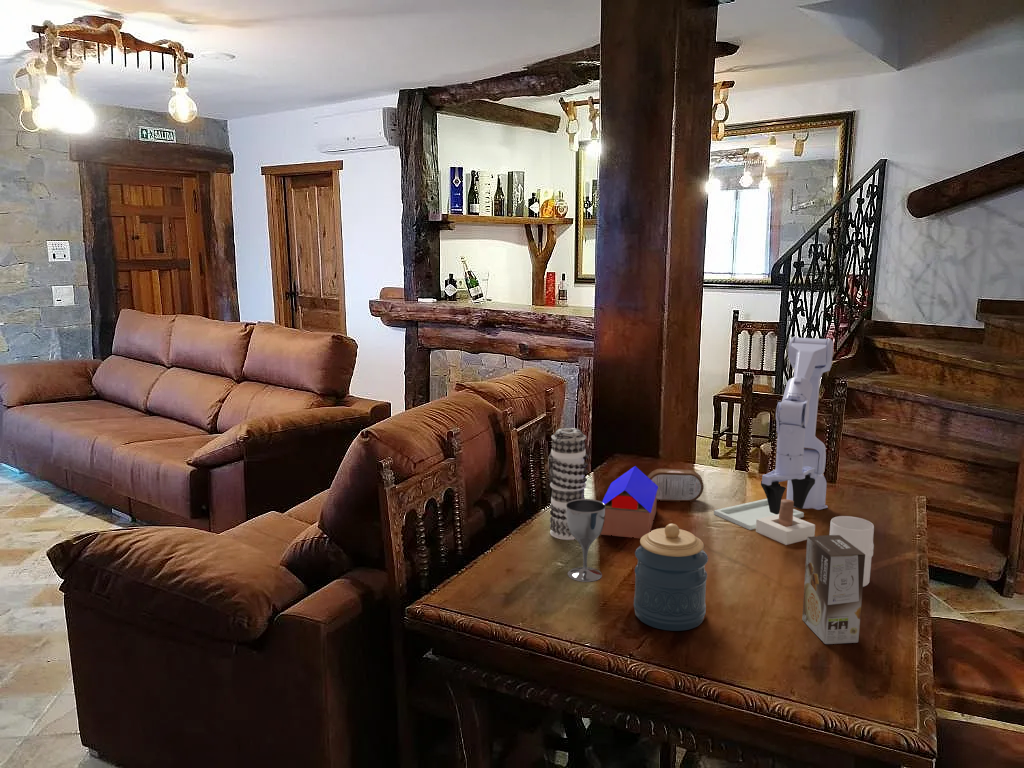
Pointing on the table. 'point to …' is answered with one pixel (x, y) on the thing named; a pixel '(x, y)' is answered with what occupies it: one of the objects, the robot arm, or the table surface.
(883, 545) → the table surface
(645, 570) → the canister
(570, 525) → the wine glass
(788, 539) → the cup block
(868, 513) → the table surface
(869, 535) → the mug
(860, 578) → the coffee box
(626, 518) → the house
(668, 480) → the tin
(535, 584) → the table surface
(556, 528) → the decorative candle
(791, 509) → the pin
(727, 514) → the tray
